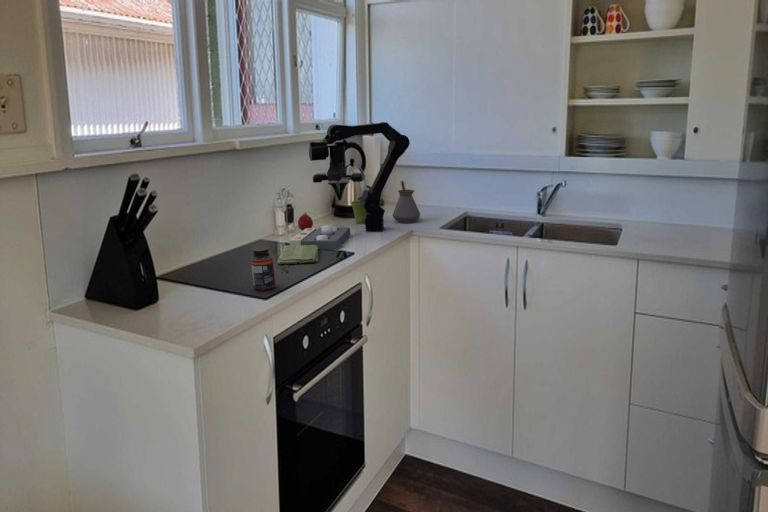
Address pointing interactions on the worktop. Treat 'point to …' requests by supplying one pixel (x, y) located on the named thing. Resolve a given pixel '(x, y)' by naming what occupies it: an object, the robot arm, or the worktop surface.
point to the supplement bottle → (262, 269)
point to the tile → (301, 236)
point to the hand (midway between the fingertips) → (340, 200)
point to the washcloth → (298, 254)
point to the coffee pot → (406, 207)
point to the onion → (305, 221)
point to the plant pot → (359, 212)
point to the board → (332, 240)
